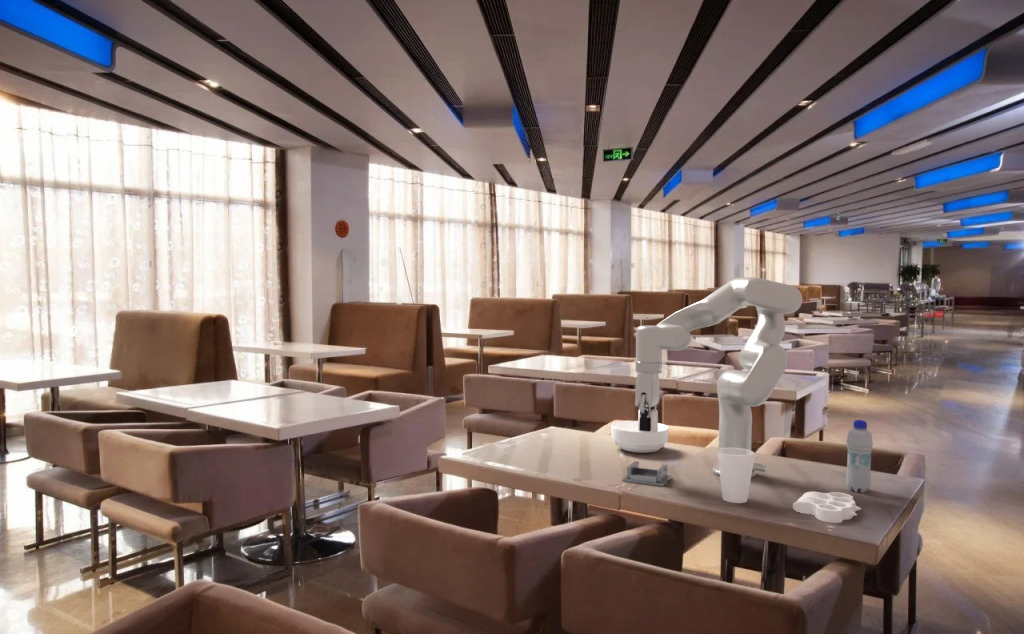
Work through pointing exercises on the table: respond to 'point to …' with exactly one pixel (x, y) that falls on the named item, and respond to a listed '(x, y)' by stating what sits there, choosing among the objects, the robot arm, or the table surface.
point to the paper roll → (653, 421)
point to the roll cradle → (647, 475)
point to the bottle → (859, 457)
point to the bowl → (638, 437)
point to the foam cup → (735, 473)
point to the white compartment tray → (827, 506)
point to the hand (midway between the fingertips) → (648, 428)
